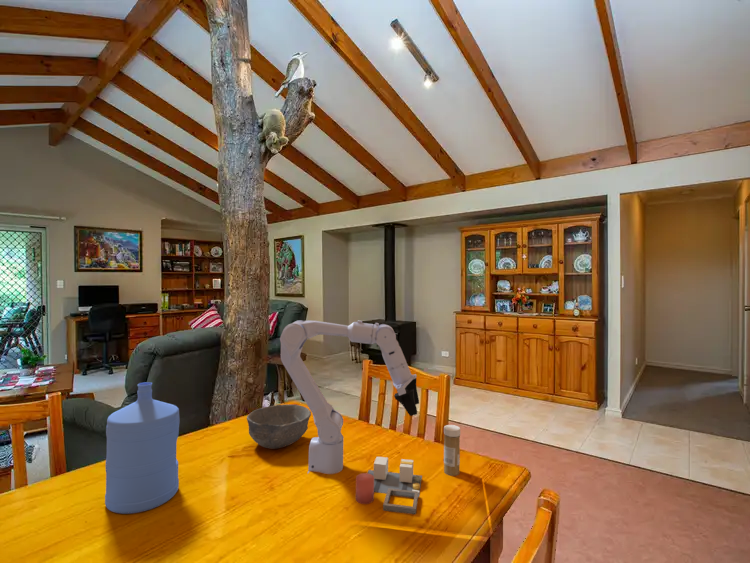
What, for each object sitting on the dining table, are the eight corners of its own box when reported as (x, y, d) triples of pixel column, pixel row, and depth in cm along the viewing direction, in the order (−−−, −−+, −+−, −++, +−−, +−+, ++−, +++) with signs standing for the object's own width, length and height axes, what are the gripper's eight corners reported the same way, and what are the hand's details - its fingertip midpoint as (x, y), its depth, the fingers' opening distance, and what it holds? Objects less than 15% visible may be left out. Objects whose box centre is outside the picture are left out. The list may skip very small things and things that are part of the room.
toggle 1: (373, 478, 105) (373, 463, 105) (376, 470, 110) (376, 456, 110) (385, 479, 105) (385, 464, 105) (387, 472, 109) (388, 457, 109)
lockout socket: (383, 513, 92) (383, 505, 92) (388, 496, 99) (388, 488, 99) (415, 517, 90) (415, 509, 90) (418, 499, 98) (418, 491, 98)
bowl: (282, 427, 144) (282, 400, 144) (323, 441, 132) (324, 411, 132) (232, 445, 127) (233, 415, 127) (274, 464, 115) (275, 430, 115)
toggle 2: (399, 481, 104) (399, 465, 104) (401, 473, 108) (401, 458, 108) (411, 482, 103) (411, 466, 103) (413, 474, 108) (413, 459, 108)
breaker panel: (359, 493, 100) (360, 486, 100) (368, 472, 111) (368, 466, 111) (418, 500, 97) (419, 493, 97) (422, 478, 108) (422, 472, 108)
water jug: (147, 519, 88) (149, 394, 88) (87, 511, 91) (89, 390, 91) (191, 484, 103) (193, 378, 103) (139, 478, 106) (141, 374, 106)
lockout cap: (353, 506, 95) (354, 481, 95) (358, 496, 99) (358, 472, 99) (371, 508, 94) (372, 483, 94) (375, 498, 98) (375, 474, 98)
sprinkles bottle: (463, 476, 110) (463, 428, 110) (451, 480, 107) (452, 431, 107) (451, 469, 114) (452, 423, 114) (439, 473, 111) (440, 426, 111)
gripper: (407, 367, 104) (426, 415, 104) (412, 353, 118) (429, 395, 118) (383, 376, 105) (402, 423, 105) (390, 361, 120) (407, 402, 120)
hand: (414, 409), depth 112 cm, fingers open, 7 cm apart
